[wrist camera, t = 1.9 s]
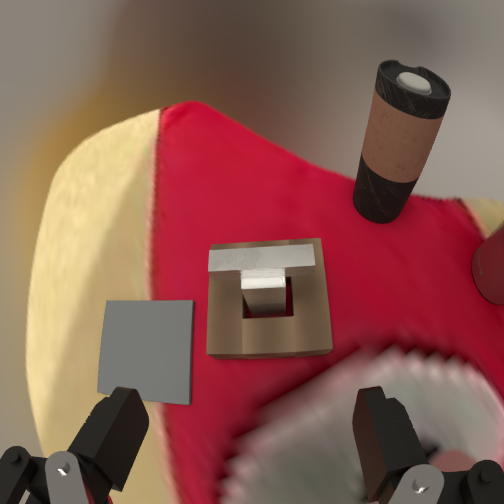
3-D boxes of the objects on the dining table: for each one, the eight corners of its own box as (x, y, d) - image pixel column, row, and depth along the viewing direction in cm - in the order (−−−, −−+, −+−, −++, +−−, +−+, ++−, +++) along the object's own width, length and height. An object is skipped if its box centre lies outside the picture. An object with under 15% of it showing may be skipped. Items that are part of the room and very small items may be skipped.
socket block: (317, 254, 35) (320, 237, 31) (326, 354, 29) (332, 348, 26) (218, 260, 36) (211, 244, 32) (215, 359, 30) (206, 354, 27)
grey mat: (194, 302, 34) (192, 300, 33) (191, 404, 28) (188, 404, 27) (109, 302, 35) (106, 300, 34) (100, 392, 29) (97, 392, 28)
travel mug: (377, 235, 35) (428, 106, 18) (339, 195, 39) (360, 64, 21) (412, 209, 37) (464, 92, 19) (376, 174, 40) (405, 55, 22)
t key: (303, 288, 33) (311, 234, 23) (306, 318, 31) (316, 275, 21) (234, 292, 34) (210, 240, 23) (234, 321, 32) (207, 281, 22)
